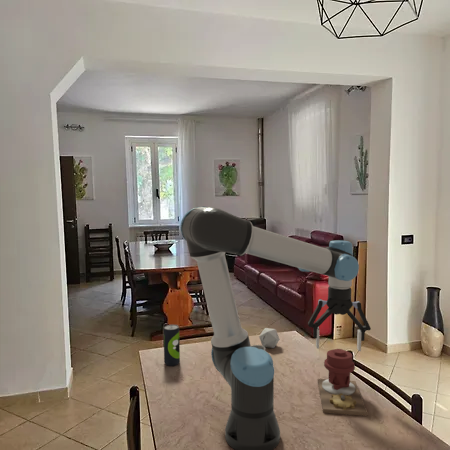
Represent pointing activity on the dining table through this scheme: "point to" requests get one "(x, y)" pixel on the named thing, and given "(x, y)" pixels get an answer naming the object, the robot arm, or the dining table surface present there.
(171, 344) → the beverage can
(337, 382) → the mechanical component
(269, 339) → the die
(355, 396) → the gear board
